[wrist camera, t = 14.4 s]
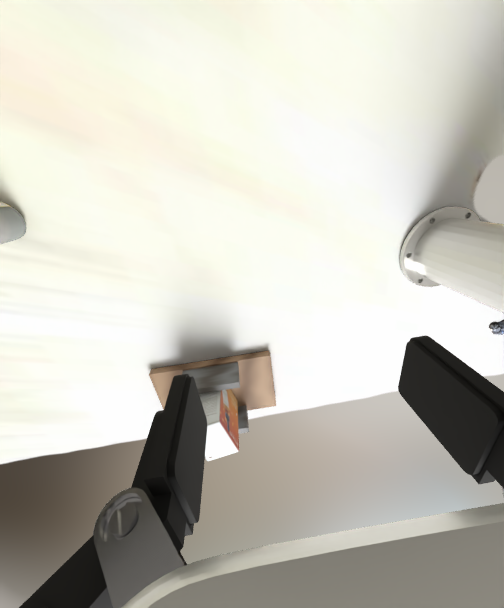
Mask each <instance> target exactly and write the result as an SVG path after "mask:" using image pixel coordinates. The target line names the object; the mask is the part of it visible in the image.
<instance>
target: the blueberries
mask: <svg viewBox="0 0 504 608" xmlns="http://www.w3.org/2000/svg"><path fill="white" fill-rule="evenodd" d="M489 328H490V331H492V332H493V334H499V335H502V334H504V320H502V321H500V322H492V323H491V324H490V325H489Z"/></svg>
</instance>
